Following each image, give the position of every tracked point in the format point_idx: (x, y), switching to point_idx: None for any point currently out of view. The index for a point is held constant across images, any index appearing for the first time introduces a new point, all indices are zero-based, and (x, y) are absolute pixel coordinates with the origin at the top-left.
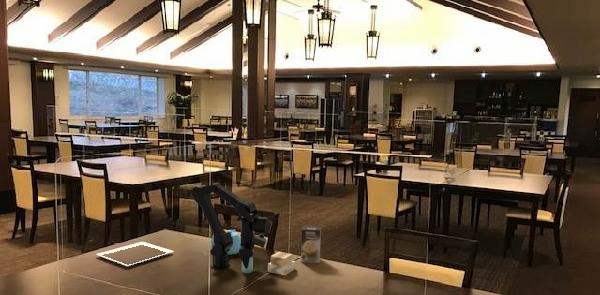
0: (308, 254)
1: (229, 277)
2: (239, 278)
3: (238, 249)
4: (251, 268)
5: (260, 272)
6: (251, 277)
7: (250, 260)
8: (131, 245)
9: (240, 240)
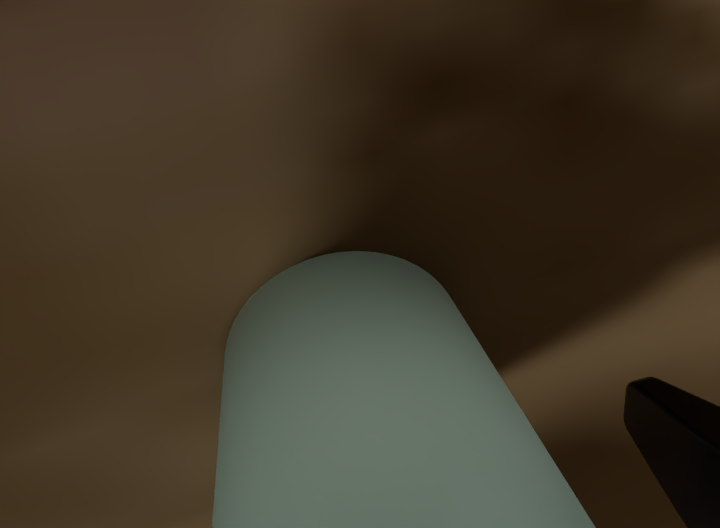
0: None
1: (644, 483)
2: (706, 355)
3: None
4: (431, 309)
5: (389, 37)
6: (697, 173)
7: (580, 522)
8: None
9: None
